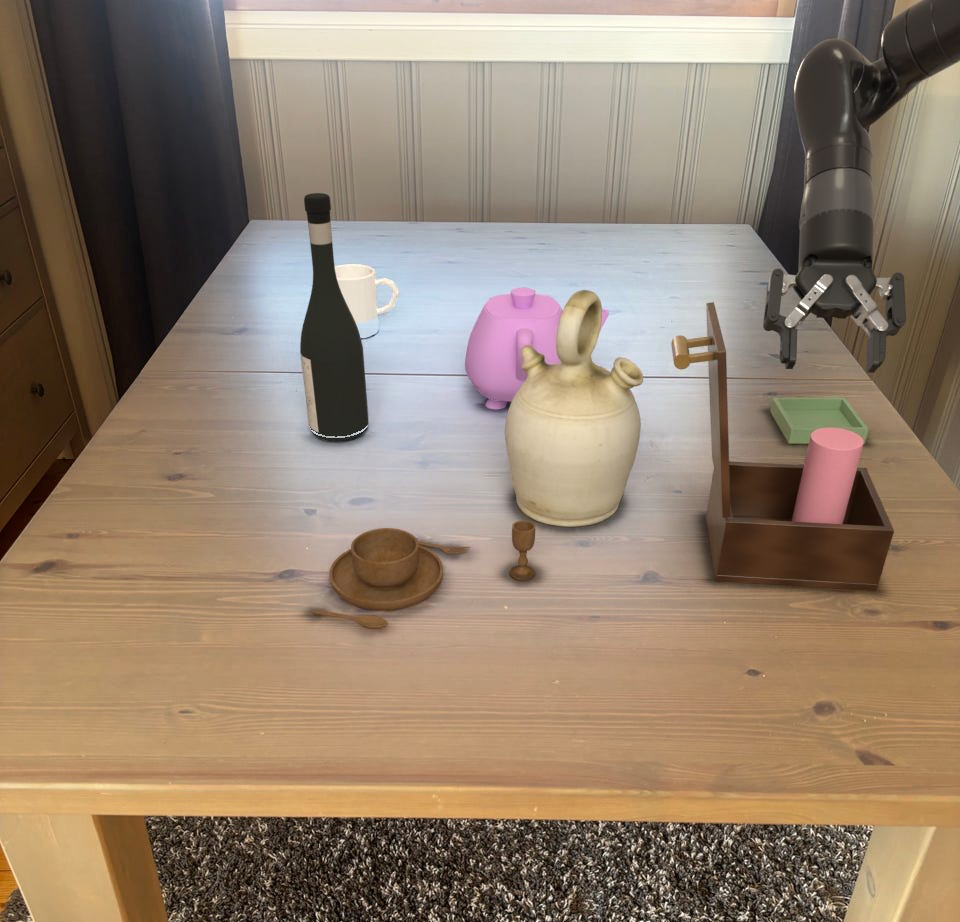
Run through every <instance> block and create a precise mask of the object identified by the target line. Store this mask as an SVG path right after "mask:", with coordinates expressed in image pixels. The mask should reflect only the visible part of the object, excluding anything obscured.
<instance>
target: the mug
mask: <svg viewBox="0 0 960 922" xmlns="http://www.w3.org/2000/svg"><path fill="white" fill-rule="evenodd" d="M334 266H335V273H336V277H337V281H338V284H339V287H340V290H341V293H342V295H343V297H344V299H345V301H346V304H347V306H348V308H349V310H350V312H351V314H352V316H353V318H354V320H355V322H356V324H358V323H365V322H369V321H371V320H373V319H375V318H377V316H378V317H379V315H382V314H385V313H387V312H389V311H391V310H393V309H394V307H395V305H396V302H397V301H398V298H399V295H400V294H401V292H400V289H399V288H398V286H397V284H396V282H395V281H394V280H392V279H389V278H387V277H382V278H378V279H377V273H376V270H375V269H374V268H373V267H372V266H370V265H367V264H360V263H359V264H358V263H346V264H339V265H334ZM380 285H382V286H386V287H388V288H389V289H390V291H391V293H392V295H391V298H390V300H389V302H388V303H387V304H385V305H384V306H382V307H379V304H378V289H377V287H378V286H380Z"/></svg>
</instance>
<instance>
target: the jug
mask: <svg viewBox="0 0 960 922" xmlns="http://www.w3.org/2000/svg"><path fill="white" fill-rule="evenodd" d="M602 309H603V305H602V301H601V299H600V297H599V296H598V295H597V294H596V293H595V292H594V291H592V290H589V289H581V290H577V291H576V292H574V293H573V294H572V295H570V297H569V298H568V300H567V301H566V304H565V305H564V307H563V308H562V310H563V311H562V314H561V317H560V321H559V325H558V329H557V337H556V350H557V355H558V358H559V359H560V361H561V363H560V364H552V365H549V364H547V363H546V362H545V356H544V355H543V354H541V353H538V352H537V351H536V350H535V349H534V348H533V347H532V346H530V345H525V346H524V347H523V348H522V350H521V354H522V359H523V364H522V366H521V368H522V370H524V371H526V372H527V379H526V380H525V382H524V383H523V384H522V385H521V387H520V388H519V390H518V391H517V393H516V395H515V396H514V398H513V400H512V402H511V401H510V405H509V408H508V410H507V414H506V419H505V425H504V440H505V447H506V454H507V459H508V460H507V461H508V466H509V472H510V476H511V478H510V479H511V484H512V488H513V491H514V495H515V498H516V499H515V500H516V504H517V506H518V508H519V510H520V511H521V512H522V513H523V514H524V515H525V516H526V517H527V518H530V519H531V520H534V521H536V522H538V523H542V524H545V525H549V526H550V525H551V526H556V527H561V528H562V527H564V528H575V527H578V528H579V527H585V526H591V525H596V524H599V523H602V522H604V521H605V520H607V519H609V518H611V517H612V516H613V515H614V514H615V513H616V511H617V510H618V508H619V505H620V502H621V500H622V498H623V495H624V492H625V489H626V486H627V484H628V483H627V482H628V480H629V477H630V475H631V473H632V470H633V467H634V463H635V461H636V456H637V452H638V448H639V444H640V438H641V426H642V421H641V414H640V410H639V407H638V403H637V401H636V399H635V395H634V394H633V392H632V390H631V389H633V388H634V387H638V386H641V385H642V384H643V383H644V374H643V372H642V370H641V369H640V368H639V366H637V364H636V363H634V362H633V361H632V360H630V359H629V358H627V357H621V356H620V357H616V358H615V359H614V360H613V367H612V368H611V370H608V369H607V368H604V367H603V366H600V365H598V364H596V363H595V362H594V361H593V359H592V354H593V352H594V350H595V348H596V345H597V343H598V340H599V336H600V334H601V333H600V332H601V331H600V328H601V322H602Z"/></svg>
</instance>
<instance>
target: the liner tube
mask: <svg viewBox="0 0 960 922" xmlns="http://www.w3.org/2000/svg"><path fill="white" fill-rule="evenodd" d="M864 444H865V443H864V441H863V439H862V437H861V436H859V435H858V434H856V433H854V432H852V431H849V430H845V429H841V428H821V429H817V430H815V431H813V432H812V434H811V436H810V441H809V444H808V445H807V450H806V454H805V460H804V464H803V465H804V468H803V472H802V477H801V481H800V486H799V490H798V495H797V499H796V504H795V508H794V513H793V517H792V522H810V523H829V524H843V521H844V517H845V513H846V509H847V505H848V502H849V498H850V494H851V490H852V486H853V482H854V478H855V475H856V471H857V468H859V464H860V463H859V462H860V459H861V455H862V451H863V448H864Z"/></svg>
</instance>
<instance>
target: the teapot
mask: <svg viewBox="0 0 960 922" xmlns="http://www.w3.org/2000/svg"><path fill="white" fill-rule="evenodd" d="M562 311H563V307H562V306H561V304H560V303H559V302H558V301H557V300H556V299H555V298H553V297H551V296H550V295H546V294H539V293H536V290H535V289H532V288H530V287H516V288H512V289H511V290H510V293H506V294H505V293H503V294H498V295H495V296H492V297H490V298H489V299H488V300H487V301H486V302H485V304H484V306H483V307H482V309H481V311H480V313H479V315H478V316H477V319H476V321H475V323H474V325H473V327H472V330H471V332H470V335H469V338H468V341H467V346H466V351H465V358H464V359H465V360H464V369H465V373H466V376H467V378H468V380H469V381H470V382H471V384H472V385H473V387H474V388H475V389H476V391H477V392H478V393H479V394H481V395H482V396H483V397H485V398H487V400H486V402H485V404H484V406H485V407H486V408H487V409H490V410H501V409H505V408H506V407H507V404H508V402H510V403H511V402H512V400H513V398H514V396H515V395H516V393H517V391H518V390H519V388H520V387H521V385H522V384H523V383H524V382H525V380H526V379H527V372H526V371H524V370H522V368H521V366H522V364H523V359H522V354H521V350H522V348H523V347H524V346H525V345H530V346H532V347H533V348H534V349H535V350H536V351H537V352H538V353H541V354H543V355H544V356H545V362H546V363H547V364H549V365H552V364H560V363H561V361H560V359H559V358H558V355H557V350H556V337H557V329H558V325H559V321H560V317H561V314H562ZM609 314H610V313H609V310H608V309H603V308H602V322H601V328H600V332H601V331H602V329H603V327H604V324H605V323H606V321H607V319H608V317H609ZM489 398H490V399H489ZM491 399H493V400H499V401H493V400H491Z"/></svg>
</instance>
